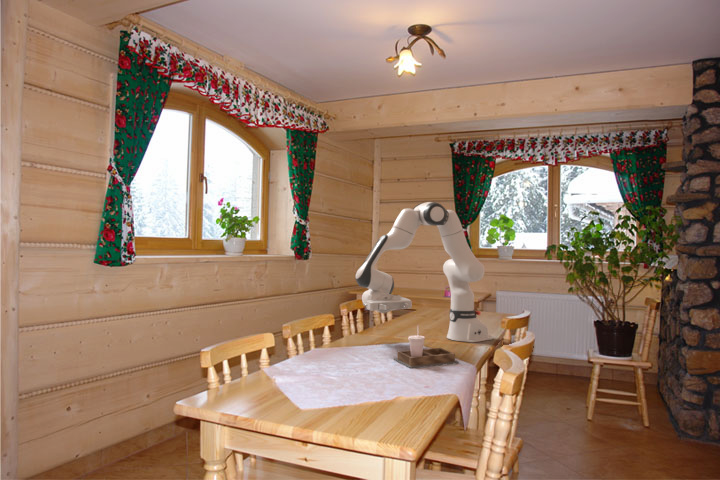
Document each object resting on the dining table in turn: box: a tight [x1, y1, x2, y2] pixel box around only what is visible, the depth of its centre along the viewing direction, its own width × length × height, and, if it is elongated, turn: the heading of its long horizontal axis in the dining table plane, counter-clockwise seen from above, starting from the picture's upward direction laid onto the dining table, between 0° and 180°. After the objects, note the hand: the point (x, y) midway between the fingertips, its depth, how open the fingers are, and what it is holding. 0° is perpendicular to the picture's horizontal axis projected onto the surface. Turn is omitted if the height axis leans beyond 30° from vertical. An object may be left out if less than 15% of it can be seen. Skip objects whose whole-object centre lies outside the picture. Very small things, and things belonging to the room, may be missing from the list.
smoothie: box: [407, 325, 426, 357], centre depth 185 cm, size 6×6×14 cm
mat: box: [393, 357, 460, 369], centre depth 188 cm, size 22×13×1 cm, turn 114°
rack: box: [396, 347, 456, 366], centre depth 188 cm, size 20×10×3 cm, turn 114°
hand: (397, 307), depth 201 cm, fingers open, 8 cm apart
